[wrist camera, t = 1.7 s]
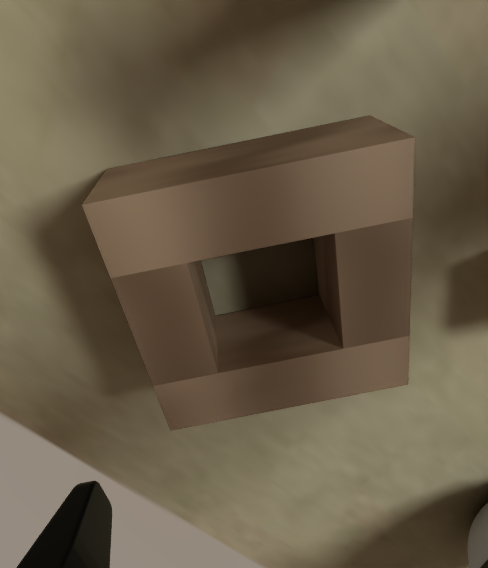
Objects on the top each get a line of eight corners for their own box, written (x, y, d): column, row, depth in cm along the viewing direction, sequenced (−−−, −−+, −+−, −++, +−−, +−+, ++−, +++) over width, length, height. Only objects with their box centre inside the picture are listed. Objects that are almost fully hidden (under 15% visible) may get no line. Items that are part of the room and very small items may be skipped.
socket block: (369, 115, 14) (414, 137, 11) (374, 328, 19) (408, 384, 16) (106, 169, 14) (81, 205, 11) (175, 367, 19) (170, 430, 16)
